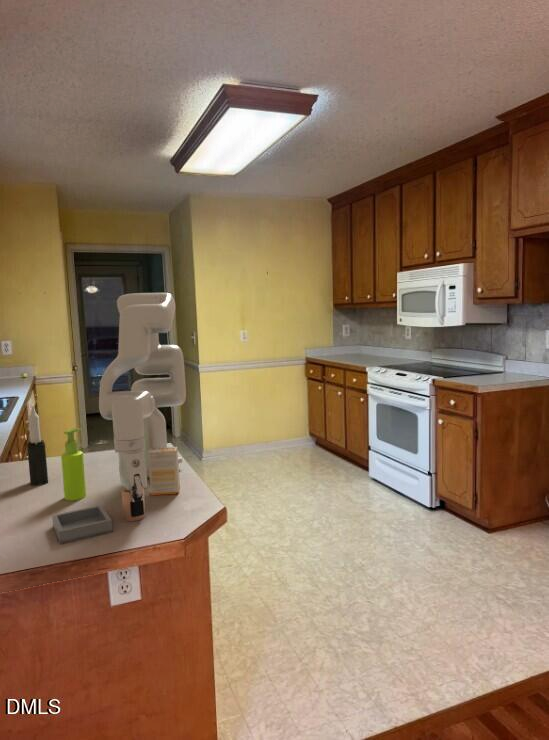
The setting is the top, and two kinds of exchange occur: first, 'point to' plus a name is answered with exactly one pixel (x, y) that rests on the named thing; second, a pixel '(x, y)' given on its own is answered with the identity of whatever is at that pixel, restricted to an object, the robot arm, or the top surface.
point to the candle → (36, 452)
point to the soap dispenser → (73, 469)
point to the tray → (81, 524)
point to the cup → (126, 505)
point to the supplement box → (164, 470)
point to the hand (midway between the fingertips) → (134, 511)
